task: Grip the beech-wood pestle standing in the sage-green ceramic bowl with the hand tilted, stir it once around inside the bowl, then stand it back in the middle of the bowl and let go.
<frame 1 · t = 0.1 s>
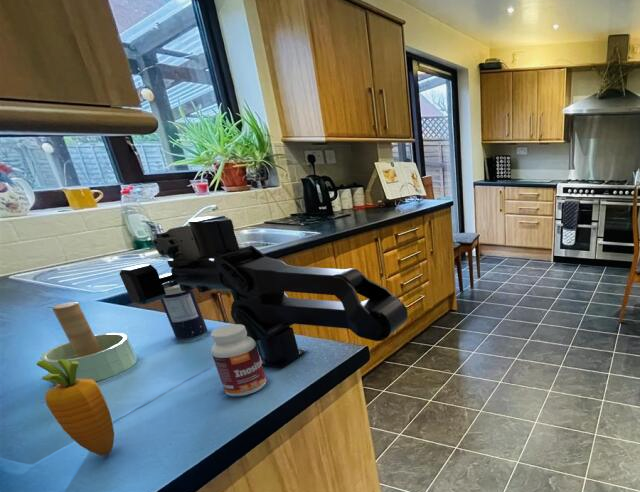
hand: (150, 270, 77), 17 cm above the counter, tool horizontal, fingers open, 9 cm apart
bowl: (99, 372, 75), on the counter
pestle: (97, 369, 75), point 1 cm above the counter, touching bowl
dark blue jar: (193, 337, 88), on the counter
pill bottle: (247, 388, 69), on the counter
carrot: (107, 456, 54), on the counter
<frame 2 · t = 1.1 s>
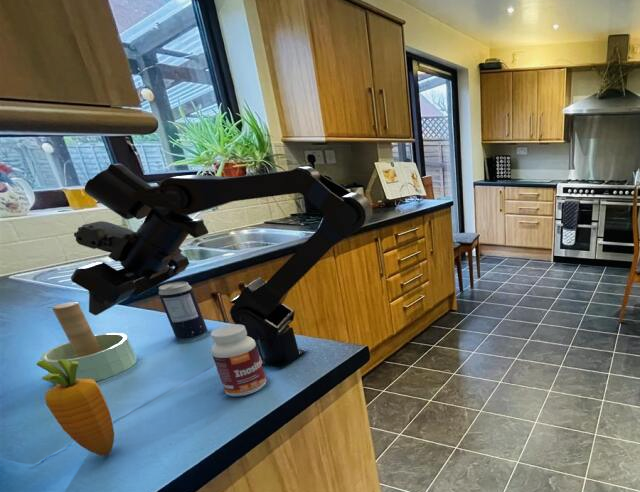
hand: (114, 303, 70), 13 cm above the counter, tool tilted 45°, fingers open, 9 cm apart
nothing on the counter moved.
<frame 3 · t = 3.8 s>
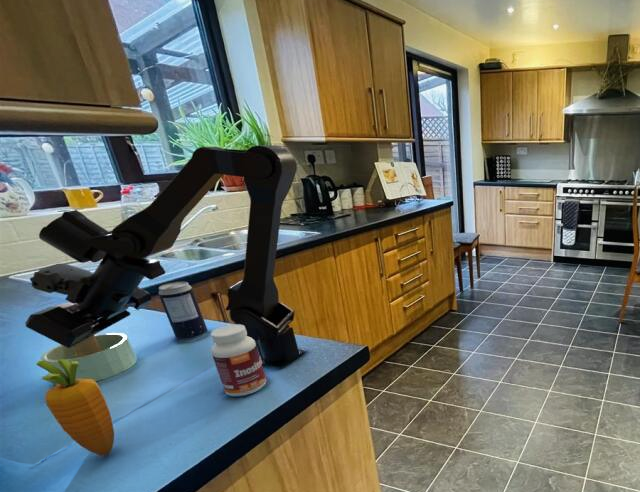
hand: (74, 341, 72), 7 cm above the counter, tool tilted 45°, fingers closed on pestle, 3 cm apart
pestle: (97, 369, 75), point 1 cm above the counter, touching bowl, gripper
everything else where it was.
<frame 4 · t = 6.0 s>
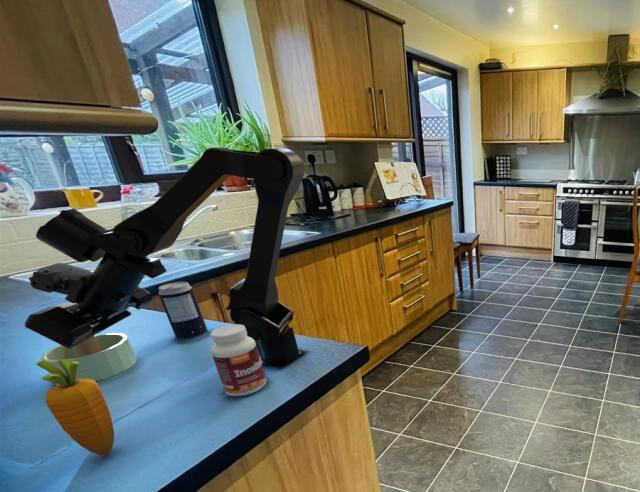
hand: (75, 342, 71), 7 cm above the counter, tool tilted 45°, fingers closed on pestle, 3 cm apart
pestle: (98, 370, 74), point 1 cm above the counter, touching gripper
everything else where it was.
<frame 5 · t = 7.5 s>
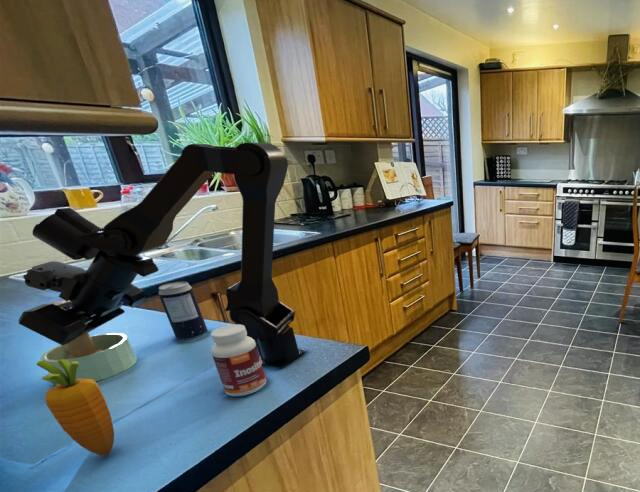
hand: (69, 339, 72), 7 cm above the counter, tool tilted 45°, fingers closed on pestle, 3 cm apart
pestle: (92, 367, 75), point 1 cm above the counter, touching gripper
everything else where it was.
when the fingers open (7 cm above the counter, at t = 8.4 s): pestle stays where it is, resting on bowl.
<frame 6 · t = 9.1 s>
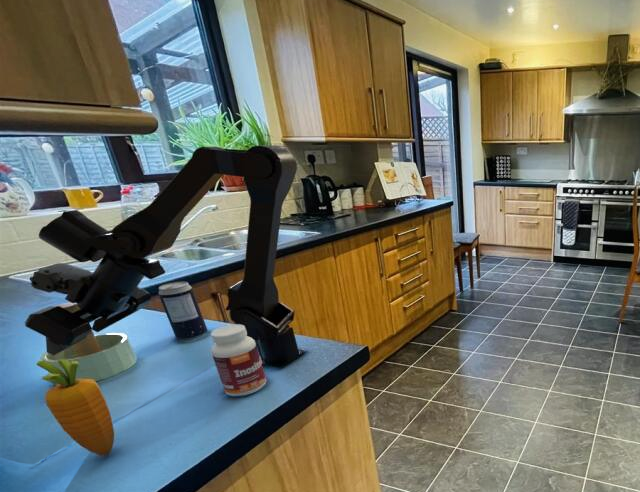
hand: (74, 341, 72), 7 cm above the counter, tool tilted 45°, fingers open, 9 cm apart
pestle: (98, 369, 75), point 1 cm above the counter, touching bowl
everything else where it was.
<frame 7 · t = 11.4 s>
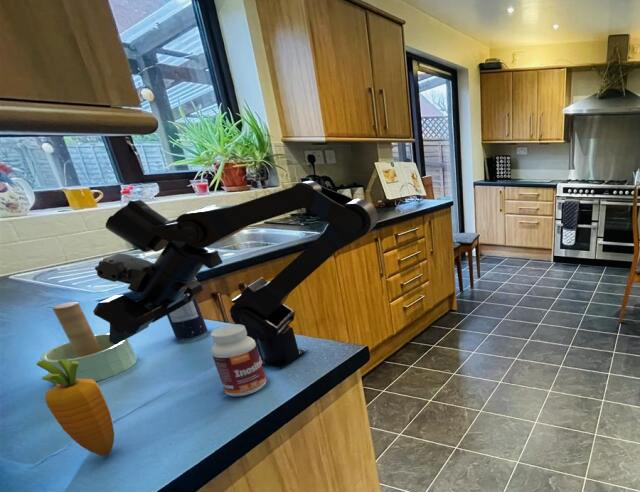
hand: (132, 331, 73), 8 cm above the counter, tool tilted 45°, fingers open, 9 cm apart
nothing on the counter moved.
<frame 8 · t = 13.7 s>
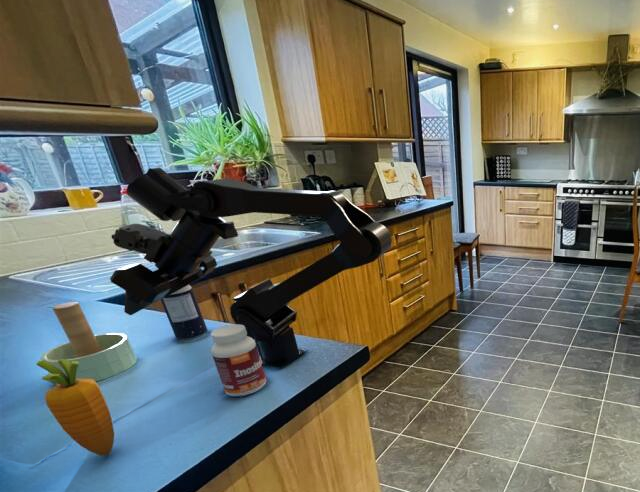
hand: (147, 303, 72), 13 cm above the counter, tool tilted 45°, fingers open, 9 cm apart
nothing on the counter moved.
at the end: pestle 0.1 cm from the bowl (horizontally); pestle tilted 0°; the gripper is holding nothing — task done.
